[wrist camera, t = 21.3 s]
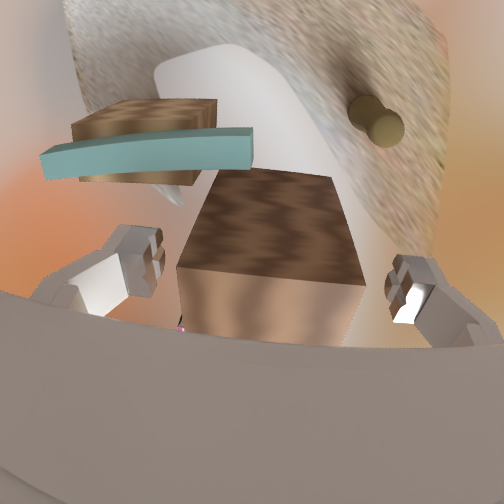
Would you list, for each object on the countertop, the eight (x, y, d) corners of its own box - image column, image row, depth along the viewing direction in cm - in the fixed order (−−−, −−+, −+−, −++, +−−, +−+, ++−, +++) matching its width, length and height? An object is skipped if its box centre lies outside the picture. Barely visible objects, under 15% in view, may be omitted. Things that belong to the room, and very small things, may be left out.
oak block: (125, 145, 48) (79, 181, 36) (122, 100, 43) (71, 124, 31) (215, 147, 47) (192, 185, 35) (217, 99, 43) (191, 120, 31)
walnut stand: (220, 227, 56) (186, 343, 36) (221, 165, 49) (176, 266, 29) (318, 237, 56) (334, 357, 35) (331, 177, 49) (366, 286, 28)
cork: (361, 87, 39) (383, 98, 31) (391, 109, 41) (419, 127, 32) (340, 118, 43) (356, 136, 34) (371, 138, 44) (393, 162, 35)
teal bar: (60, 169, 35) (45, 180, 32) (54, 145, 33) (39, 155, 30) (253, 158, 33) (250, 169, 30) (252, 127, 31) (250, 136, 28)
